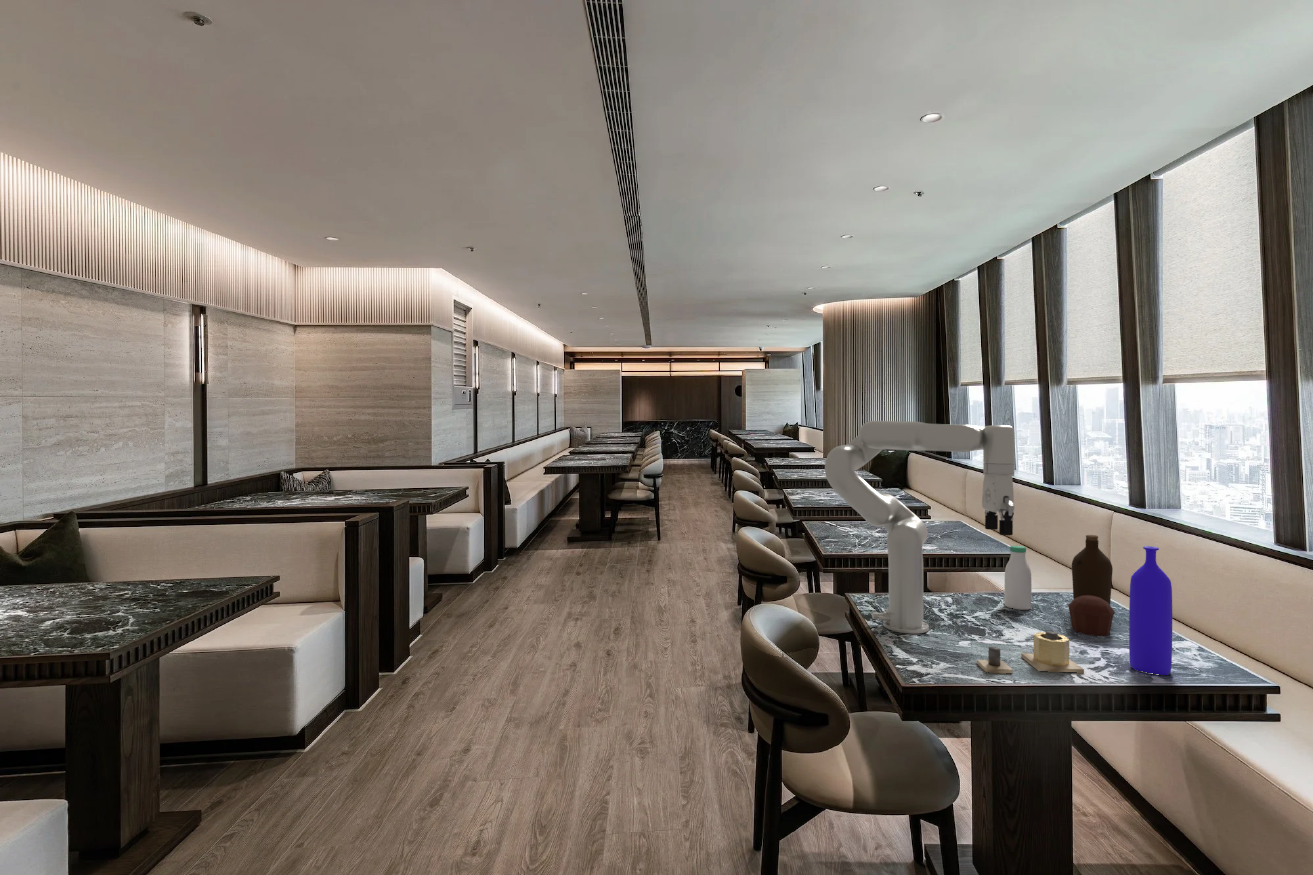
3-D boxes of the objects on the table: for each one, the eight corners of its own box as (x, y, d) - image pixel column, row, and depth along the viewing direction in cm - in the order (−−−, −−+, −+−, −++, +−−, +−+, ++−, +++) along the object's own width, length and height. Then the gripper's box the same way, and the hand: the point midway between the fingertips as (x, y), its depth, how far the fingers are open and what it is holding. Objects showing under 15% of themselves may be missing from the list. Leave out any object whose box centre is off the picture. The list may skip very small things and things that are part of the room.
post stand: (1039, 671, 155) (1039, 638, 155) (1021, 656, 165) (1021, 626, 165) (1084, 673, 154) (1084, 640, 154) (1062, 658, 164) (1062, 627, 164)
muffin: (1067, 623, 193) (1067, 590, 193) (1112, 628, 188) (1112, 594, 188) (1069, 634, 183) (1069, 599, 183) (1116, 640, 177) (1116, 604, 177)
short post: (986, 672, 155) (986, 652, 155) (976, 663, 161) (976, 643, 161) (1012, 673, 154) (1012, 652, 154) (1002, 664, 160) (1002, 644, 160)
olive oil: (1109, 622, 194) (1109, 539, 193) (1068, 615, 201) (1068, 535, 201) (1114, 614, 201) (1115, 535, 201) (1075, 608, 209) (1075, 531, 208)
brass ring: (1042, 665, 157) (1042, 640, 156) (1029, 655, 163) (1030, 631, 163) (1073, 666, 156) (1073, 642, 156) (1059, 656, 163) (1059, 632, 162)
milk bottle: (1035, 611, 206) (1035, 549, 206) (1009, 609, 207) (1009, 548, 207) (1026, 604, 213) (1026, 544, 213) (1001, 603, 215) (1001, 543, 215)
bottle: (1181, 675, 152) (1182, 549, 152) (1148, 677, 151) (1149, 550, 151) (1151, 663, 160) (1152, 543, 160) (1120, 664, 160) (1121, 544, 159)
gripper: (972, 468, 185) (972, 527, 186) (997, 472, 168) (996, 537, 168) (1000, 468, 184) (1000, 527, 185) (1027, 472, 167) (1027, 537, 168)
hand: (998, 532), depth 177 cm, fingers open, 9 cm apart
